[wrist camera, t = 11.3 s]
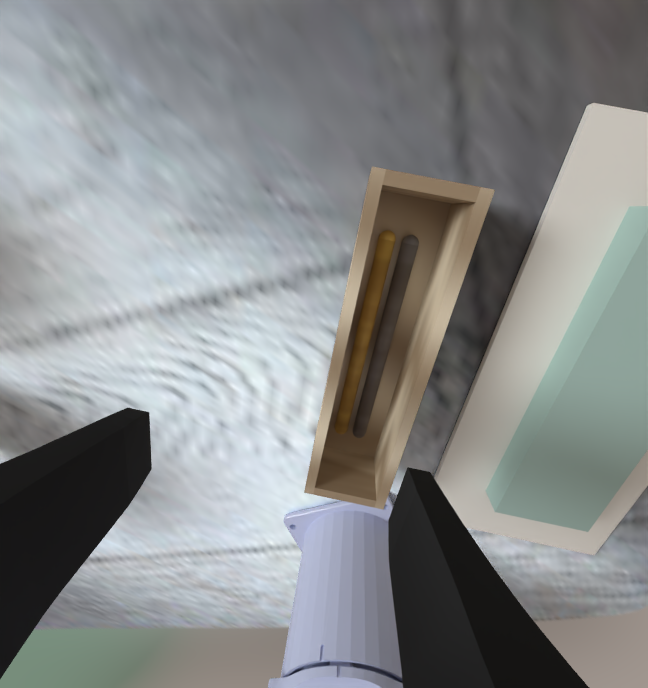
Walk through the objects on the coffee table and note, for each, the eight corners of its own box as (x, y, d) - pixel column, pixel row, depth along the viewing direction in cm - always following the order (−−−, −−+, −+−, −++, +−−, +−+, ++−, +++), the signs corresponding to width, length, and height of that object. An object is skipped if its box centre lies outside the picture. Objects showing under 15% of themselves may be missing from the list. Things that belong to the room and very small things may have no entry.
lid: (572, 509, 21) (588, 532, 20) (485, 490, 21) (494, 511, 20) (758, 230, 14) (804, 233, 13) (629, 206, 14) (660, 206, 13)
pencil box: (379, 458, 21) (383, 509, 18) (313, 444, 22) (304, 492, 18) (462, 194, 15) (495, 189, 12) (369, 176, 15) (372, 166, 12)
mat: (590, 549, 23) (594, 555, 22) (419, 512, 23) (420, 517, 23) (883, 159, 13) (898, 158, 13) (587, 105, 14) (593, 102, 13)
